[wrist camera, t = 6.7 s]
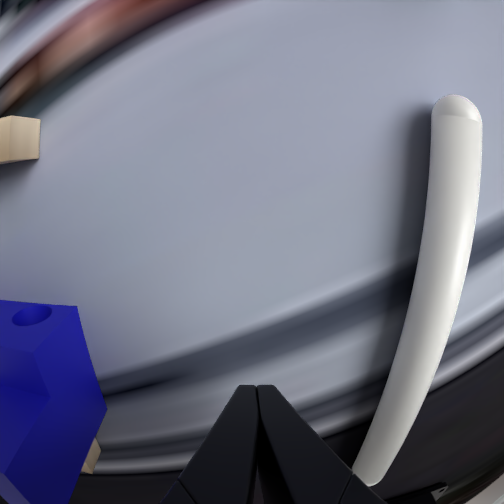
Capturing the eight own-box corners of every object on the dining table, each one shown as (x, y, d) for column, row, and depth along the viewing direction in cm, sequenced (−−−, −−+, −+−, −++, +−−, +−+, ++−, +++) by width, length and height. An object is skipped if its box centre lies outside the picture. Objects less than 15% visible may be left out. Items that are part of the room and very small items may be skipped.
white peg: (373, 464, 12) (383, 488, 10) (343, 470, 12) (351, 495, 10) (459, 105, 7) (491, 100, 6) (421, 92, 7) (451, 84, 6)
